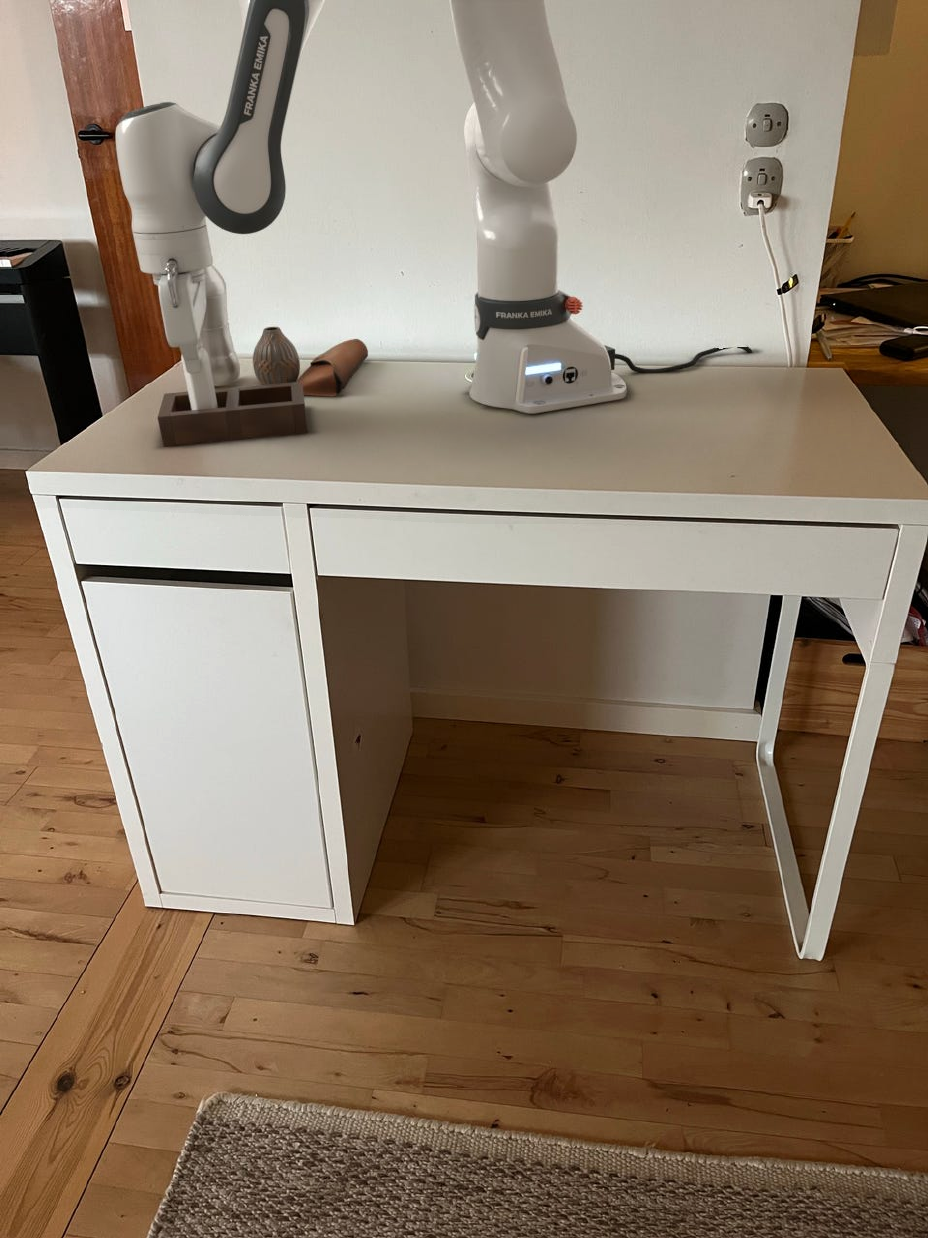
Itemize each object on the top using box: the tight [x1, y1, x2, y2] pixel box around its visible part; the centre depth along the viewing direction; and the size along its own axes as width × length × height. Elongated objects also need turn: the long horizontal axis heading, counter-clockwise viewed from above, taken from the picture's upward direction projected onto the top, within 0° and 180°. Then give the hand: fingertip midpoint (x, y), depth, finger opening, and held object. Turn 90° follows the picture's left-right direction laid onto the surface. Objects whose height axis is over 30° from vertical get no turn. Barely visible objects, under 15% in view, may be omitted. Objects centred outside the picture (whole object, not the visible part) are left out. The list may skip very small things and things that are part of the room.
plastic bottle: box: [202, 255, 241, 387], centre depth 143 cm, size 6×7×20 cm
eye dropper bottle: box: [180, 337, 218, 410], centre depth 125 cm, size 4×6×12 cm
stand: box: [156, 382, 309, 447], centre depth 129 cm, size 19×10×4 cm, turn 100°
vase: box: [252, 326, 301, 385], centre depth 143 cm, size 7×7×9 cm
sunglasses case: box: [296, 338, 369, 398], centre depth 148 cm, size 18×7×7 cm, turn 173°
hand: (196, 364), depth 125 cm, fingers closed on eye dropper bottle, 5 cm apart
